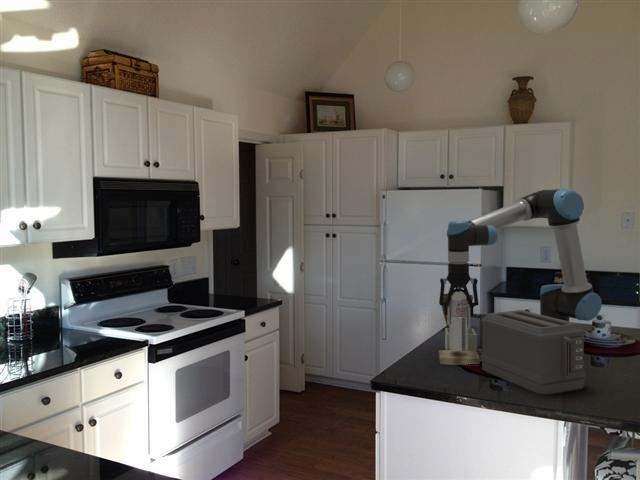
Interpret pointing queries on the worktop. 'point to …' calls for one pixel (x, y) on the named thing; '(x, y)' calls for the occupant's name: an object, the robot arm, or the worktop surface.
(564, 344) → the toaster
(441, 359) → the board
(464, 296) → the water bottle
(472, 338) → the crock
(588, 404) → the worktop surface
